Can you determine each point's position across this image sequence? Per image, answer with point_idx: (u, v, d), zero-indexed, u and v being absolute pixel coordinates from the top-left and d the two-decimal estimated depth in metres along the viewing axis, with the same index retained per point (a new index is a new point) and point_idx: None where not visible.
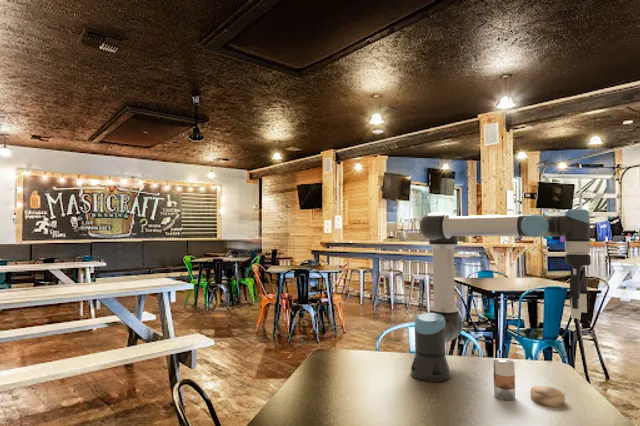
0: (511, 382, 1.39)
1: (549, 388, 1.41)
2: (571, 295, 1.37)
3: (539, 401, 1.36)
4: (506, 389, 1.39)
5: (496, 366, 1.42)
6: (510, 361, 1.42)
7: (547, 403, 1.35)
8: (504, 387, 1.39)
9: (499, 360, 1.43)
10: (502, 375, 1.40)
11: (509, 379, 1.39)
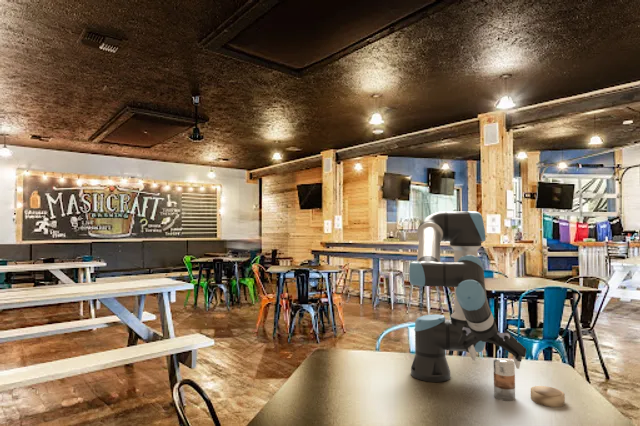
0: (511, 382, 1.39)
1: (549, 388, 1.41)
2: None
3: (539, 401, 1.36)
4: (506, 389, 1.39)
5: (496, 366, 1.42)
6: (510, 361, 1.42)
7: (547, 403, 1.35)
8: (504, 387, 1.39)
9: (499, 360, 1.43)
10: (502, 375, 1.40)
11: (509, 379, 1.39)
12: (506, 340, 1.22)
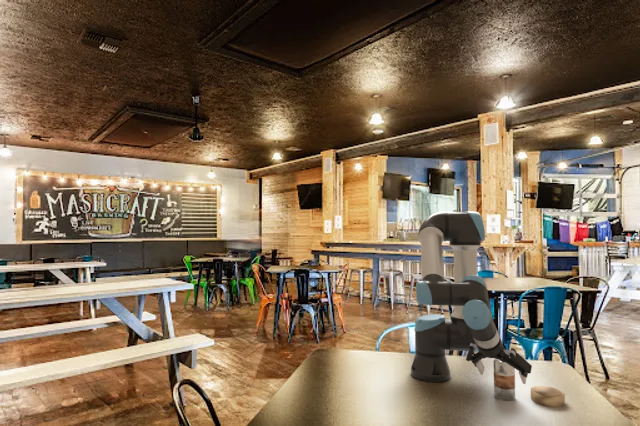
0: (511, 382, 1.39)
1: (549, 388, 1.41)
2: None
3: (539, 401, 1.36)
4: (506, 389, 1.39)
5: (496, 366, 1.42)
6: None
7: (547, 403, 1.35)
8: (504, 387, 1.39)
9: (499, 360, 1.43)
10: (502, 375, 1.40)
11: (509, 379, 1.39)
12: (512, 357, 1.27)
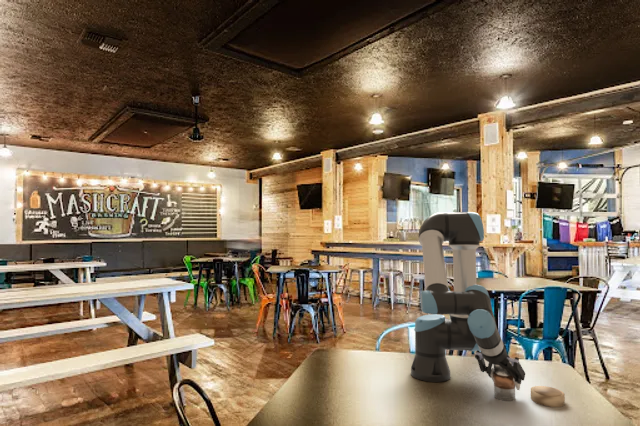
0: (511, 382, 1.39)
1: (549, 388, 1.41)
2: None
3: (539, 401, 1.36)
4: (506, 389, 1.39)
5: (496, 366, 1.41)
6: None
7: (547, 403, 1.35)
8: (504, 387, 1.39)
9: None
10: (502, 375, 1.40)
11: (510, 379, 1.39)
12: (515, 366, 1.33)
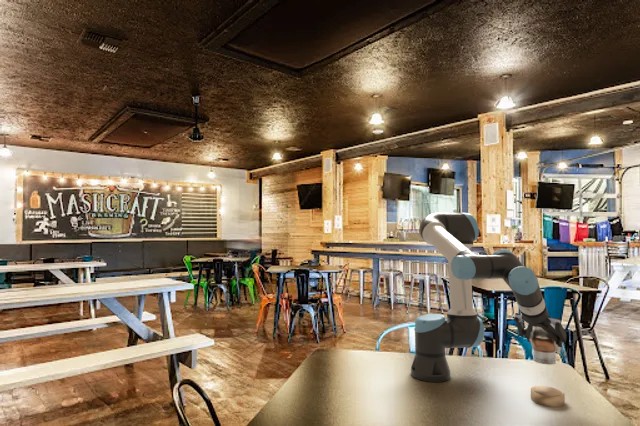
0: (552, 345, 1.36)
1: (549, 388, 1.41)
2: None
3: (539, 401, 1.36)
4: (546, 352, 1.36)
5: (536, 329, 1.38)
6: None
7: (547, 403, 1.35)
8: (544, 350, 1.36)
9: None
10: (542, 338, 1.37)
11: (550, 342, 1.36)
12: (557, 326, 1.29)
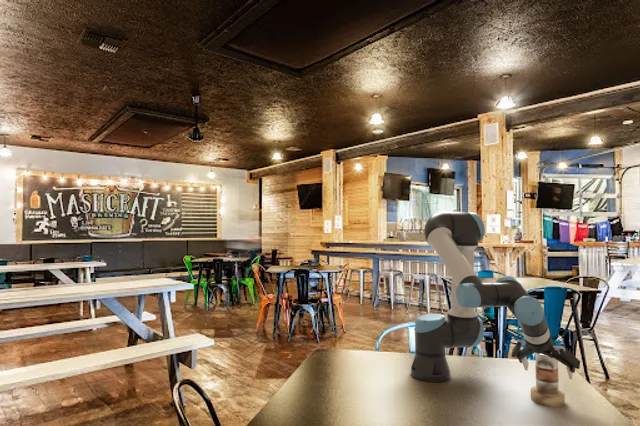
0: (555, 375, 1.36)
1: None
2: (512, 351, 1.44)
3: (539, 401, 1.36)
4: (549, 382, 1.36)
5: (539, 359, 1.38)
6: None
7: (547, 403, 1.35)
8: (548, 380, 1.36)
9: None
10: (545, 368, 1.37)
11: (553, 372, 1.36)
12: (561, 353, 1.29)
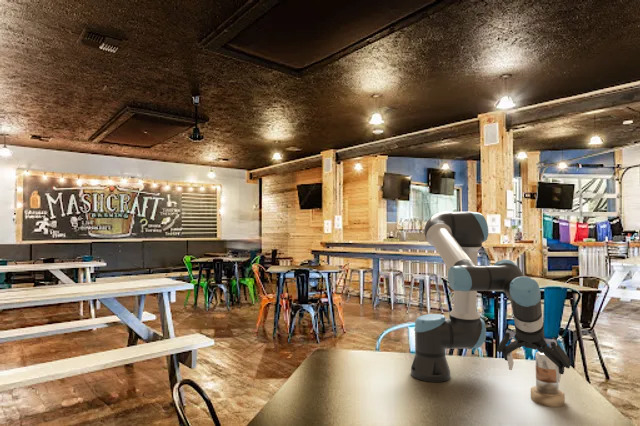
0: (555, 375, 1.36)
1: None
2: (498, 346, 1.34)
3: (539, 401, 1.36)
4: (549, 382, 1.36)
5: (539, 359, 1.38)
6: None
7: (547, 403, 1.35)
8: (548, 380, 1.36)
9: (542, 353, 1.40)
10: (545, 368, 1.37)
11: (553, 373, 1.36)
12: (553, 347, 1.20)
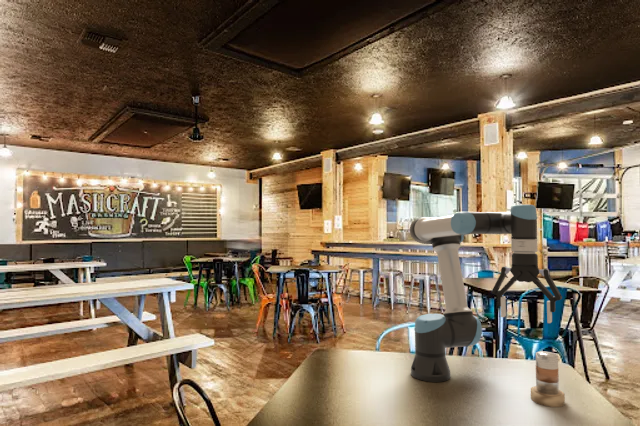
0: (555, 375, 1.36)
1: None
2: None
3: (539, 401, 1.36)
4: (549, 382, 1.36)
5: (539, 359, 1.38)
6: (553, 354, 1.39)
7: (547, 403, 1.35)
8: (548, 381, 1.36)
9: (542, 353, 1.40)
10: (545, 368, 1.37)
11: (553, 373, 1.36)
12: (545, 273, 1.28)
